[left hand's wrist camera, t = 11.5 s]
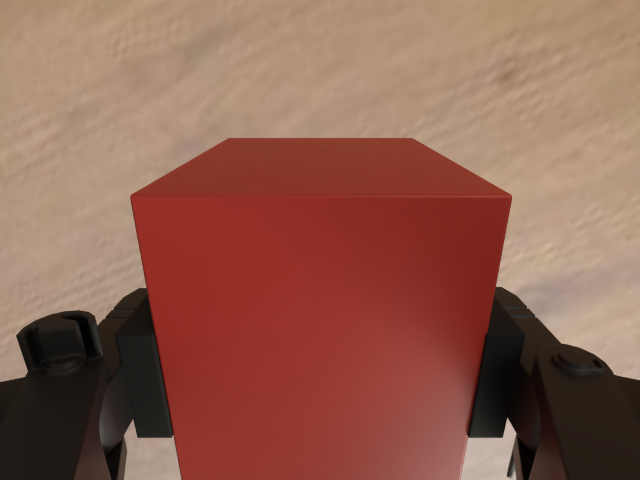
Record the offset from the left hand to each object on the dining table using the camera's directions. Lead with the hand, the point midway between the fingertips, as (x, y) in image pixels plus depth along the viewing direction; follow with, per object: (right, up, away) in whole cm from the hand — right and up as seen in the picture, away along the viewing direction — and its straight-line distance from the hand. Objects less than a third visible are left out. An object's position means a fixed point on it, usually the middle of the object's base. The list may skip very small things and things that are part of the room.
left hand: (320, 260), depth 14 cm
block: (0, 0, +1) cm, 1 cm away
